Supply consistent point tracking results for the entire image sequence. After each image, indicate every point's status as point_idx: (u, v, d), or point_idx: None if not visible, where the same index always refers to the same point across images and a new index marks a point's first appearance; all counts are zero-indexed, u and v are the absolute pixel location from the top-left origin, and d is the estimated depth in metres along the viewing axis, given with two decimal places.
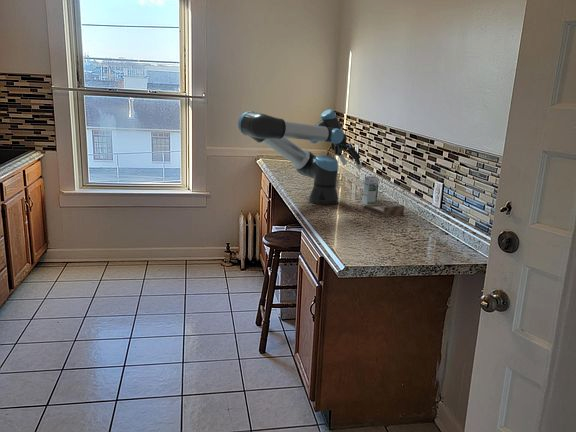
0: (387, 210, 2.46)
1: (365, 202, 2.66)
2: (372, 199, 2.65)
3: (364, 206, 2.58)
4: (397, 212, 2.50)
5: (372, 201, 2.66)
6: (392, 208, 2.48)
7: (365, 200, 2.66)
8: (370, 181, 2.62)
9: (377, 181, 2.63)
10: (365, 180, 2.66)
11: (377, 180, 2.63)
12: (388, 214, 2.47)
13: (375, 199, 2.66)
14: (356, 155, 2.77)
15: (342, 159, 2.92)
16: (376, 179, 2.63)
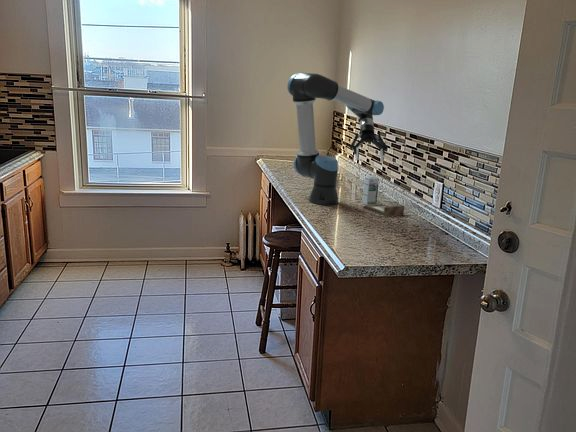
0: (387, 210, 2.46)
1: (365, 202, 2.66)
2: (372, 199, 2.65)
3: (364, 206, 2.58)
4: (397, 212, 2.50)
5: (372, 201, 2.66)
6: (392, 208, 2.48)
7: (365, 200, 2.66)
8: (370, 181, 2.62)
9: (377, 181, 2.63)
10: (365, 180, 2.66)
11: (377, 180, 2.63)
12: (388, 214, 2.47)
13: (375, 199, 2.66)
14: None
15: (357, 152, 2.75)
16: (376, 179, 2.63)
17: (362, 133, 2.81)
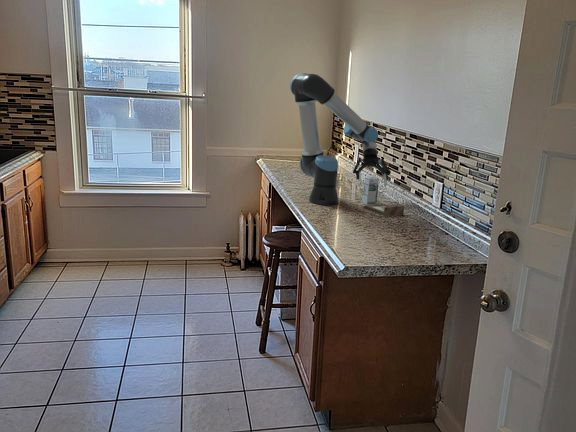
0: (387, 210, 2.46)
1: (365, 202, 2.66)
2: (372, 199, 2.65)
3: (364, 206, 2.58)
4: (397, 212, 2.50)
5: (372, 201, 2.66)
6: (392, 208, 2.48)
7: (365, 200, 2.66)
8: (370, 181, 2.62)
9: (377, 181, 2.63)
10: (365, 180, 2.66)
11: (377, 180, 2.63)
12: (388, 214, 2.47)
13: (375, 199, 2.66)
14: None
15: None
16: (376, 179, 2.63)
17: (365, 157, 2.76)
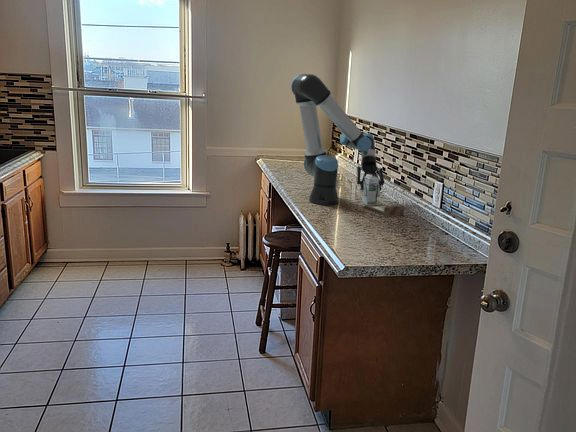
0: (387, 210, 2.46)
1: (365, 202, 2.66)
2: (372, 199, 2.65)
3: (364, 206, 2.58)
4: (397, 212, 2.50)
5: (372, 201, 2.66)
6: (392, 208, 2.48)
7: (365, 200, 2.66)
8: (370, 181, 2.62)
9: (377, 181, 2.63)
10: (365, 180, 2.66)
11: (377, 180, 2.63)
12: (388, 214, 2.47)
13: (375, 199, 2.66)
14: None
15: None
16: (376, 179, 2.63)
17: (363, 165, 2.72)
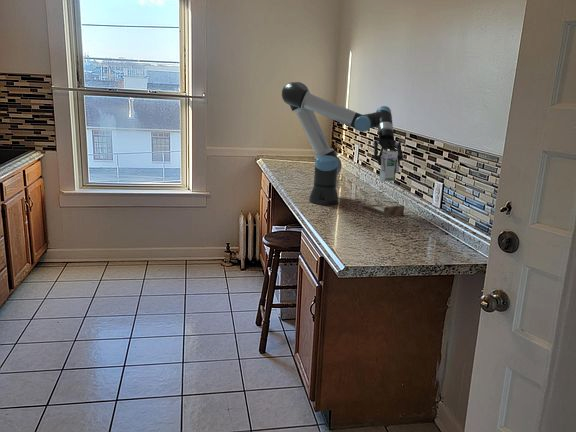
0: (387, 210, 2.46)
1: (383, 178, 2.50)
2: (390, 175, 2.48)
3: (364, 206, 2.58)
4: (397, 212, 2.50)
5: (390, 177, 2.49)
6: (392, 208, 2.48)
7: (383, 176, 2.50)
8: (388, 155, 2.45)
9: (396, 155, 2.47)
10: (383, 155, 2.49)
11: (396, 154, 2.46)
12: (388, 214, 2.47)
13: (393, 175, 2.49)
14: None
15: None
16: (395, 153, 2.46)
17: (380, 139, 2.55)
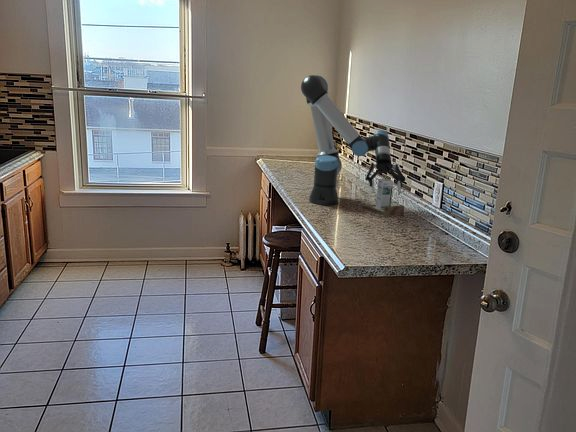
0: (387, 210, 2.46)
1: (378, 206, 2.53)
2: (386, 203, 2.52)
3: (364, 206, 2.58)
4: (397, 212, 2.50)
5: (386, 205, 2.52)
6: (392, 208, 2.48)
7: (378, 204, 2.53)
8: (383, 184, 2.49)
9: (391, 184, 2.50)
10: (379, 183, 2.53)
11: (391, 183, 2.50)
12: (388, 214, 2.47)
13: (389, 203, 2.53)
14: None
15: None
16: (391, 182, 2.50)
17: (378, 163, 2.58)
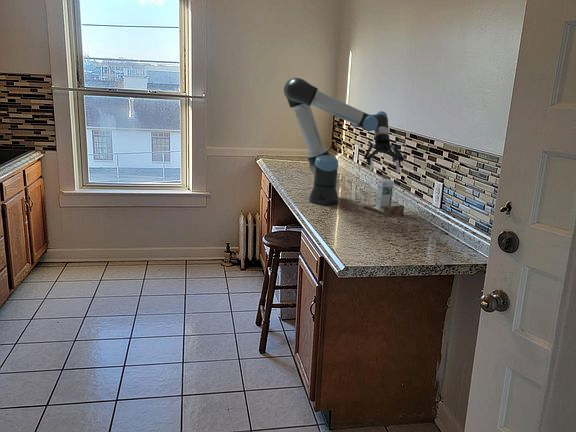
0: (387, 210, 2.46)
1: (378, 206, 2.53)
2: (386, 203, 2.52)
3: (364, 206, 2.58)
4: (397, 212, 2.50)
5: (386, 205, 2.52)
6: (392, 208, 2.48)
7: (378, 204, 2.53)
8: (383, 184, 2.49)
9: (391, 184, 2.50)
10: (379, 183, 2.53)
11: (391, 183, 2.50)
12: (388, 214, 2.47)
13: (389, 203, 2.53)
14: None
15: None
16: (391, 182, 2.50)
17: (377, 143, 2.65)
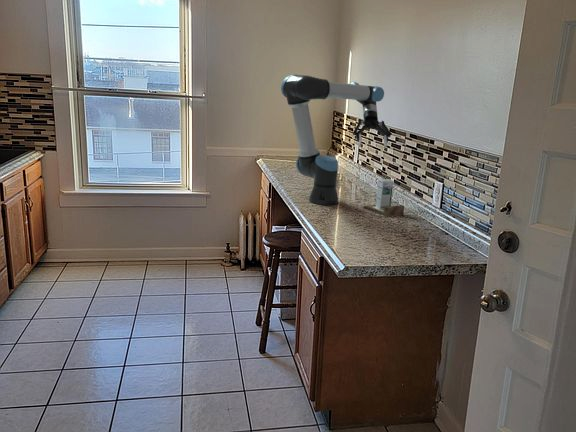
0: (387, 210, 2.46)
1: (378, 206, 2.53)
2: (386, 203, 2.52)
3: (364, 206, 2.58)
4: (397, 212, 2.50)
5: (386, 205, 2.52)
6: (392, 208, 2.48)
7: (378, 204, 2.53)
8: (383, 184, 2.49)
9: (391, 184, 2.50)
10: (379, 183, 2.53)
11: (391, 183, 2.50)
12: (388, 214, 2.47)
13: (389, 203, 2.53)
14: None
15: (360, 138, 2.69)
16: (391, 182, 2.50)
17: (365, 119, 2.75)
